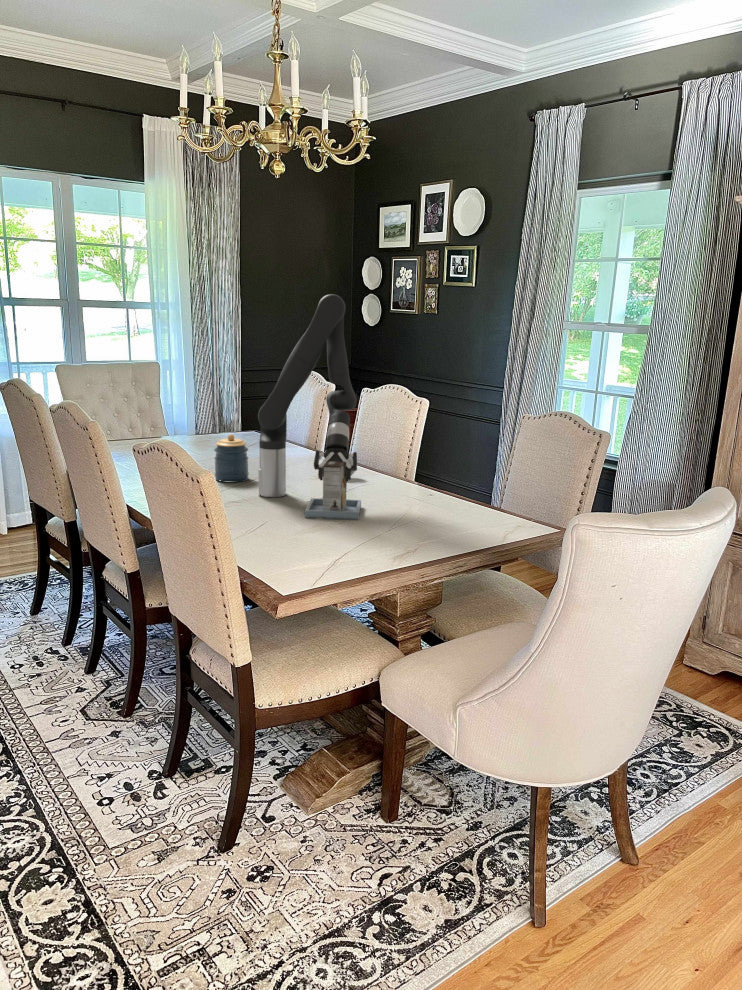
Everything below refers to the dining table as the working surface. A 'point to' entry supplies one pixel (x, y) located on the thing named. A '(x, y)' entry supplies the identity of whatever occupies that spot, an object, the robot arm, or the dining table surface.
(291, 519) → the dining table surface
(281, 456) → the robot arm
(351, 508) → the tray
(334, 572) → the dining table surface
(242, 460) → the canister
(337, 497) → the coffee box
